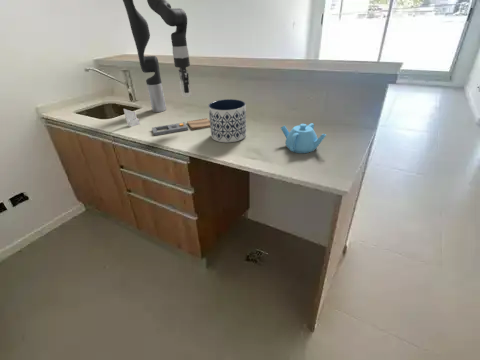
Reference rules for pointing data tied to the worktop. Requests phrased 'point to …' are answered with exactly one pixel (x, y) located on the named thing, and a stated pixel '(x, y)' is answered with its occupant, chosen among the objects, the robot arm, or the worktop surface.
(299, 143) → the teapot
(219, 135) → the planter
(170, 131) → the grey panel with cutout
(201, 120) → the walnut board
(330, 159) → the worktop surface
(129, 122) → the crumpled white paper
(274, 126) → the worktop surface
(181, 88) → the block
